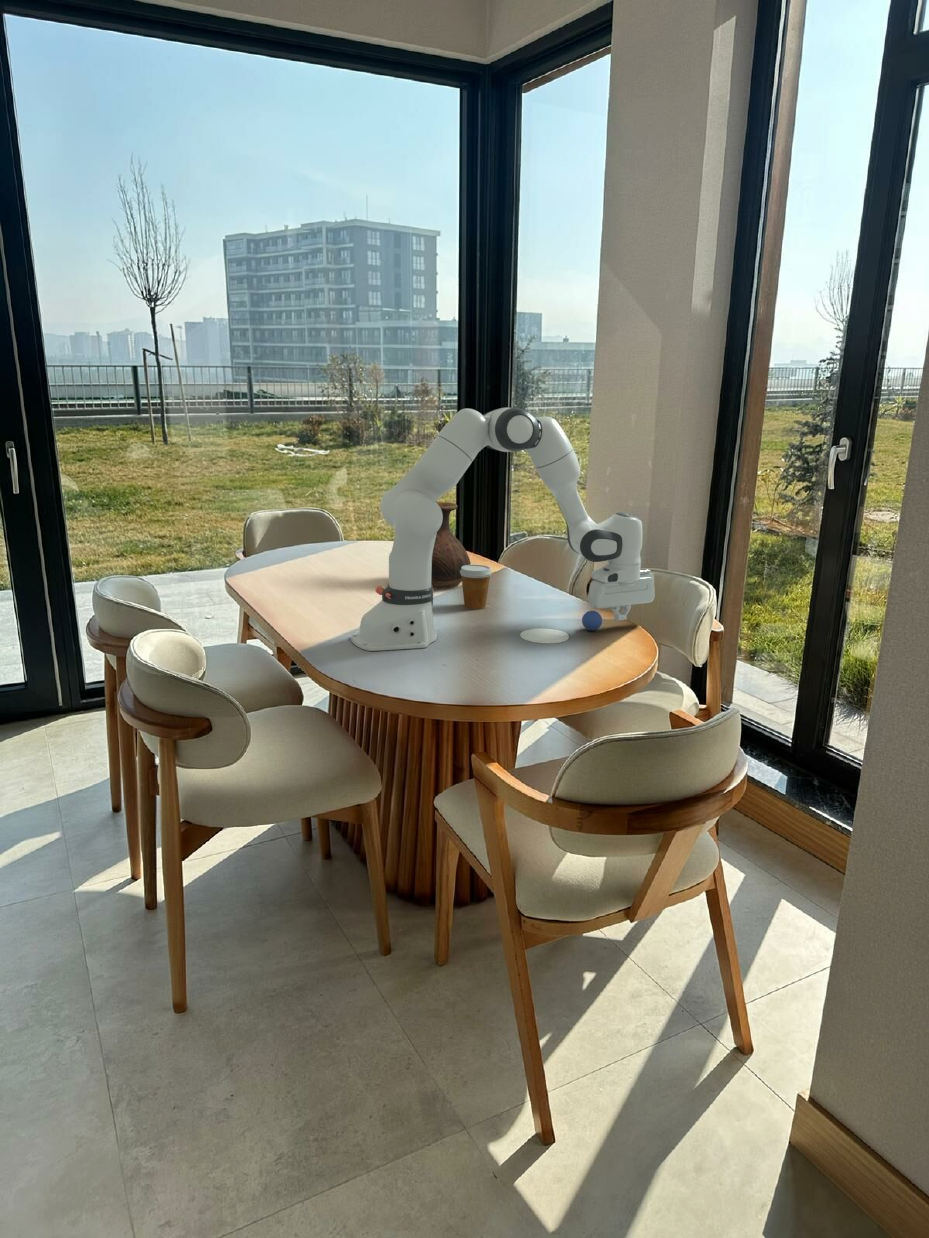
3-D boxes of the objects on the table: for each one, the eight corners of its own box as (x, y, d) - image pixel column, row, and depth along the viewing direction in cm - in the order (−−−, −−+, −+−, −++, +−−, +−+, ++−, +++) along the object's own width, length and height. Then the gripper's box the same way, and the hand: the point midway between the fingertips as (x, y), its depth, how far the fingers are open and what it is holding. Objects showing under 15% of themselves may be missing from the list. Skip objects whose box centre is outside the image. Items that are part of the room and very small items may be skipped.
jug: (473, 578, 296) (475, 490, 288) (467, 593, 276) (469, 499, 267) (410, 575, 298) (410, 488, 290) (399, 590, 278) (399, 497, 269)
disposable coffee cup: (463, 611, 255) (464, 571, 252) (455, 603, 264) (456, 564, 260) (494, 610, 257) (496, 570, 254) (485, 601, 266) (486, 563, 263)
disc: (535, 645, 224) (535, 645, 224) (511, 632, 236) (511, 631, 236) (578, 640, 230) (578, 639, 230) (552, 627, 241) (552, 626, 241)
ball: (588, 633, 236) (589, 614, 234) (577, 628, 240) (578, 609, 239) (605, 631, 238) (606, 612, 236) (594, 626, 243) (595, 607, 241)
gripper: (647, 566, 246) (643, 613, 250) (586, 572, 237) (583, 621, 241) (661, 571, 240) (657, 619, 244) (599, 577, 232) (596, 627, 236)
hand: (620, 620), depth 243 cm, fingers closed
